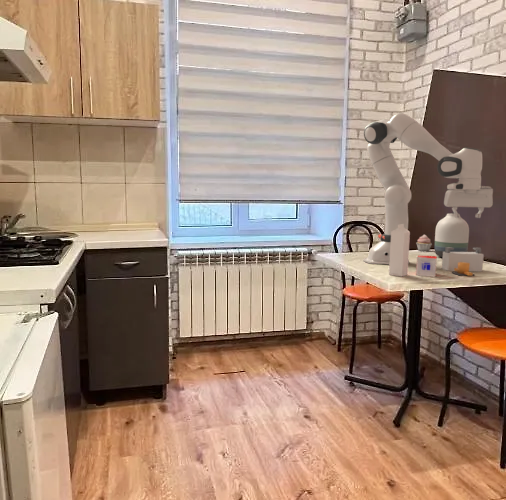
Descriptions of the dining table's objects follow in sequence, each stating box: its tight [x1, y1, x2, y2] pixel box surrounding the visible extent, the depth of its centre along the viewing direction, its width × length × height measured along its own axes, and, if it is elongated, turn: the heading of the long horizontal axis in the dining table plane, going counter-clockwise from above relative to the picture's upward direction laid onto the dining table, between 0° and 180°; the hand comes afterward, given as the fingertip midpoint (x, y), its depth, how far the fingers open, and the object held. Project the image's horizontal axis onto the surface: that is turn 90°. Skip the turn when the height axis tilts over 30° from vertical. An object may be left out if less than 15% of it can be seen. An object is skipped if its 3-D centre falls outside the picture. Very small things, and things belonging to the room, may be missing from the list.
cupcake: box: [415, 234, 433, 252], centre depth 298 cm, size 9×9×10 cm
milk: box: [388, 224, 411, 277], centre depth 214 cm, size 6×6×22 cm
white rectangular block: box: [441, 247, 484, 272], centre depth 231 cm, size 16×7×10 cm, turn 92°
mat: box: [451, 271, 475, 277], centre depth 219 cm, size 7×7×1 cm
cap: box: [453, 262, 474, 277], centre depth 219 cm, size 13×5×4 cm, turn 5°
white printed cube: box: [415, 254, 438, 277], centre depth 217 cm, size 8×8×8 cm
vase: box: [434, 213, 470, 258], centre depth 270 cm, size 17×17×24 cm
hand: (467, 217), depth 216 cm, fingers open, 8 cm apart
